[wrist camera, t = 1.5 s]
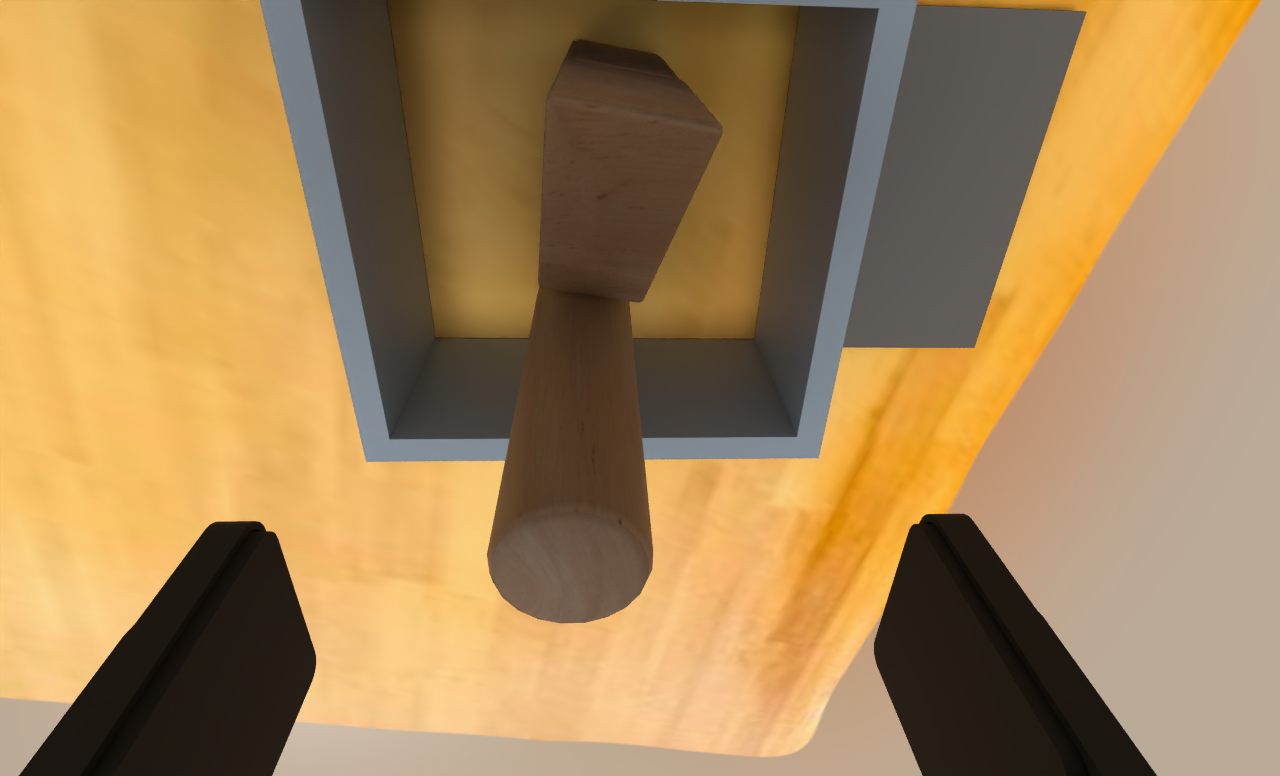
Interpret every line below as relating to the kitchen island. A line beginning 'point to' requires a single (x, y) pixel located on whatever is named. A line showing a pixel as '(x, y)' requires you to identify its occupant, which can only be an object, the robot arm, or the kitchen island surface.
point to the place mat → (956, 170)
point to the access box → (665, 368)
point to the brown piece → (593, 333)
